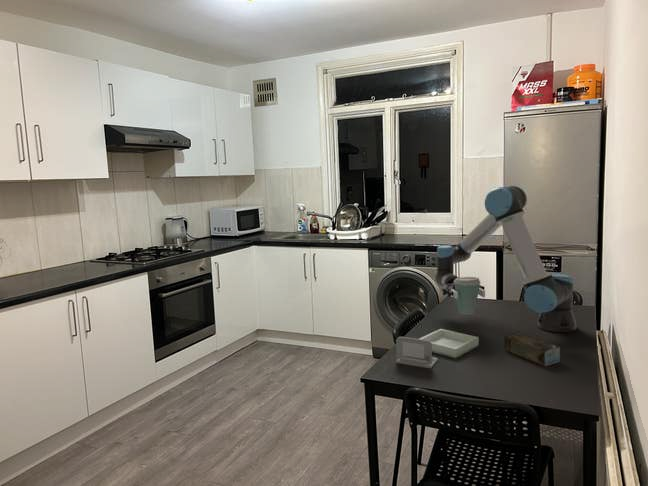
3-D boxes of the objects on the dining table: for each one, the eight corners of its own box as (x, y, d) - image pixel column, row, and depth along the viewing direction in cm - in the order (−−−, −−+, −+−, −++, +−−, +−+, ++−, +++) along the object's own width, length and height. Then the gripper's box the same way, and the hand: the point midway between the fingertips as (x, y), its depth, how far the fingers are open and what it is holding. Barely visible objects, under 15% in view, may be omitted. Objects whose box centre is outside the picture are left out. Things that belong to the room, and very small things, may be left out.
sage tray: (478, 345, 194) (478, 337, 194) (455, 358, 182) (455, 349, 182) (440, 336, 206) (440, 328, 206) (417, 348, 194) (417, 339, 194)
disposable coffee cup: (448, 312, 208) (448, 278, 206) (463, 307, 215) (463, 273, 212) (470, 317, 200) (470, 281, 198) (485, 312, 207) (485, 277, 204)
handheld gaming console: (438, 360, 182) (438, 334, 180) (431, 369, 174) (430, 341, 173) (404, 355, 188) (404, 329, 187) (395, 363, 180) (395, 337, 179)
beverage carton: (544, 367, 172) (544, 349, 171) (503, 350, 189) (503, 334, 188) (560, 362, 175) (561, 344, 174) (518, 346, 192) (518, 330, 191)
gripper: (477, 289, 225) (498, 302, 203) (427, 293, 223) (443, 305, 202) (477, 273, 224) (498, 284, 202) (427, 276, 222) (442, 287, 201)
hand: (470, 295), depth 202 cm, fingers closed on disposable coffee cup, 11 cm apart
